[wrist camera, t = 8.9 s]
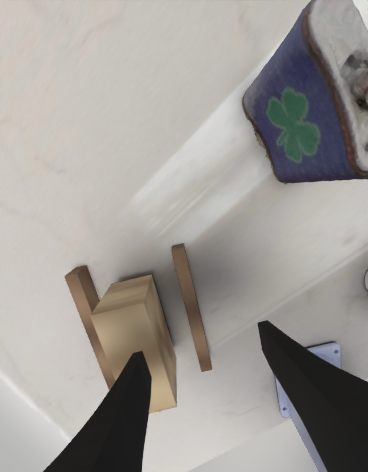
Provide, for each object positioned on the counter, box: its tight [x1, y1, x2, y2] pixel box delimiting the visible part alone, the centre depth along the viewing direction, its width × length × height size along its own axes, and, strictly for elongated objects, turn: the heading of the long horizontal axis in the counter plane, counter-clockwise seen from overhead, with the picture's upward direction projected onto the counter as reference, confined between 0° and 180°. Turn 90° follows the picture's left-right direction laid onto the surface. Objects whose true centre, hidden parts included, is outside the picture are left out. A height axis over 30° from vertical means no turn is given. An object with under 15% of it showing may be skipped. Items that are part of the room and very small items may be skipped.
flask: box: [243, 0, 368, 184], centre depth 13 cm, size 9×3×11 cm, turn 31°
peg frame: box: [64, 243, 212, 391], centre depth 20 cm, size 14×11×2 cm
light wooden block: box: [90, 274, 177, 413], centre depth 18 cm, size 10×4×5 cm, turn 13°
